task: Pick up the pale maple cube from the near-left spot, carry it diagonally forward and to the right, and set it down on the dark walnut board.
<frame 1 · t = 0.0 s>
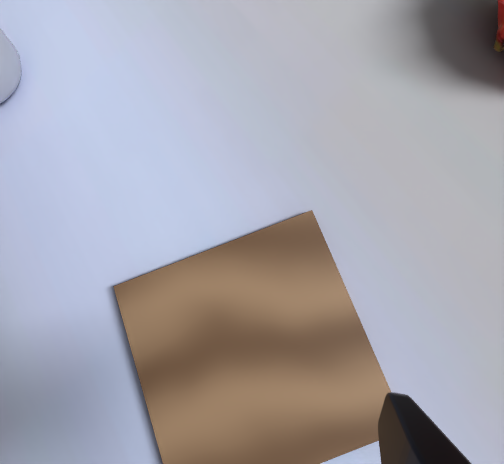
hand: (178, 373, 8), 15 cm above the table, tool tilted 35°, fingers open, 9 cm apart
walnut board: (250, 351, 22), on the table
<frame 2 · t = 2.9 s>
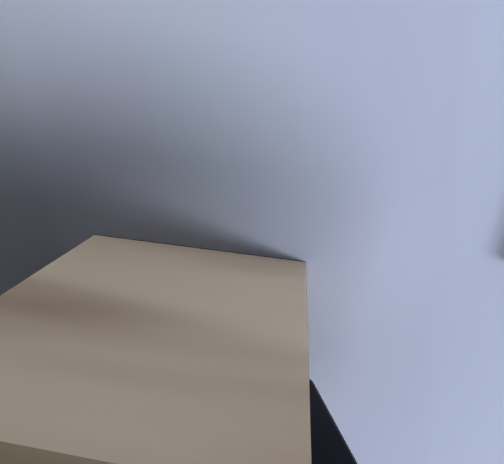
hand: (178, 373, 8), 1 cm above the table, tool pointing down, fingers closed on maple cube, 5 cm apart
maple cube: (194, 337, 9), on the table, touching gripper
when the fingers open (3 cm above the table, at t = 8.3 s): maple cube drops 1 cm, resting on walnut board.
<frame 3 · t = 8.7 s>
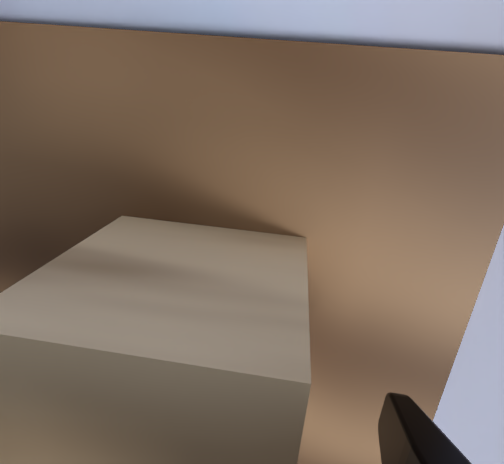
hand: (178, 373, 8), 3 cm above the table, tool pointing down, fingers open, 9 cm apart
walnut board: (213, 297, 11), on the table
maple cube: (208, 306, 10), point 1 cm above the table, touching walnut board
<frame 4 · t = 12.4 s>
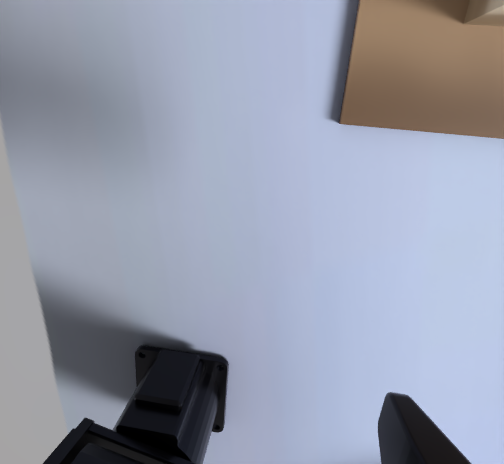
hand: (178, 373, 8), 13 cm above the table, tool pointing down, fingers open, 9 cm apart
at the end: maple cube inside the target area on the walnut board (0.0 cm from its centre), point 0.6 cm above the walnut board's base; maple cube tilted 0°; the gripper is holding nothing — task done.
